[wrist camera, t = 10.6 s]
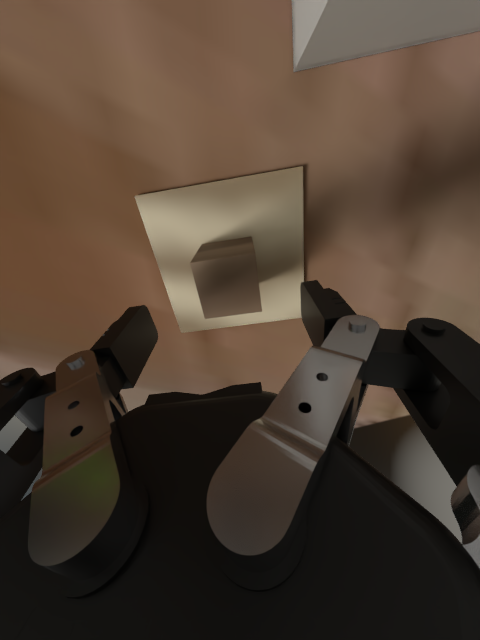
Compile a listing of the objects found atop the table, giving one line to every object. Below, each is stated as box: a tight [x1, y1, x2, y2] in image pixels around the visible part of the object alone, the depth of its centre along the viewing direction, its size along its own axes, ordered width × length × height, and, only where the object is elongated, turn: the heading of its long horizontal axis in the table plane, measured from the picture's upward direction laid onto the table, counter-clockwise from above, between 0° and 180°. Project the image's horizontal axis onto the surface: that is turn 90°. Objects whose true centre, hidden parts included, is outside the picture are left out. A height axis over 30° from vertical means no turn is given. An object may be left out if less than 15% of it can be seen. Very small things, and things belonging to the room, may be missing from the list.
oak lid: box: [134, 166, 304, 333], centre depth 17 cm, size 12×12×6 cm
